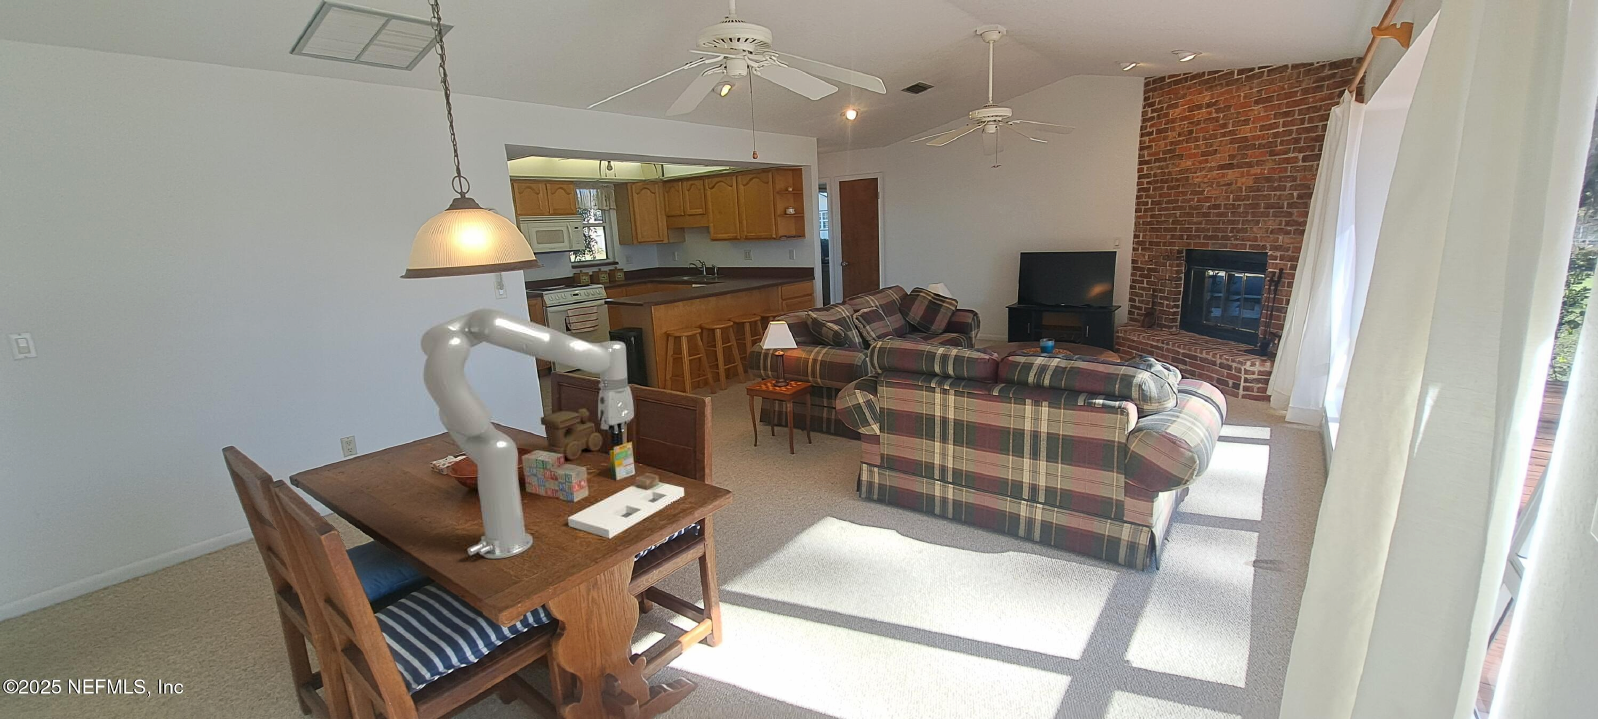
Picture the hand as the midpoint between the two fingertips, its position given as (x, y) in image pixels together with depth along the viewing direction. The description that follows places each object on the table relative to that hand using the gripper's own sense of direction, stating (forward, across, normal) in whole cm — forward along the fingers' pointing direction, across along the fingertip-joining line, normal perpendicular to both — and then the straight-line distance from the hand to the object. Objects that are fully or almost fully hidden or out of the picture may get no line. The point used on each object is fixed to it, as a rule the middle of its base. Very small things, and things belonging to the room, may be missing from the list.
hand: (617, 444), depth 185 cm
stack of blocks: (+20, -2, +26) cm, 33 cm away
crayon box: (+19, +18, +17) cm, 32 cm away
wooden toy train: (+19, +26, +50) cm, 60 cm away
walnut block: (+17, +11, 0) cm, 20 cm away
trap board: (+20, 0, -4) cm, 20 cm away
